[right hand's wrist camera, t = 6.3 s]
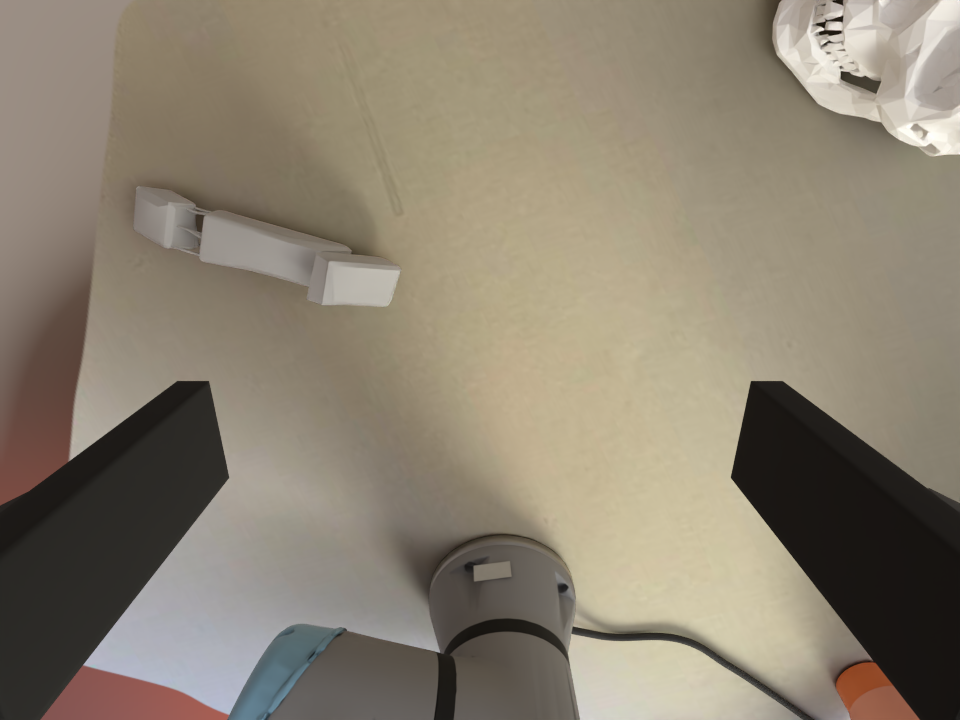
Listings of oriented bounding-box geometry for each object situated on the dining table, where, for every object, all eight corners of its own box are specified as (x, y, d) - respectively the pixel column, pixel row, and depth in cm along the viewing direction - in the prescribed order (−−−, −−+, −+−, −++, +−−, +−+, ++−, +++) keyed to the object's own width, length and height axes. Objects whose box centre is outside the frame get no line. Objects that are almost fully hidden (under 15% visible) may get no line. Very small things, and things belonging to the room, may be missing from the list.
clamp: (406, 261, 42) (383, 276, 35) (394, 305, 43) (370, 327, 37) (167, 181, 41) (101, 182, 35) (163, 227, 43) (98, 236, 36)
